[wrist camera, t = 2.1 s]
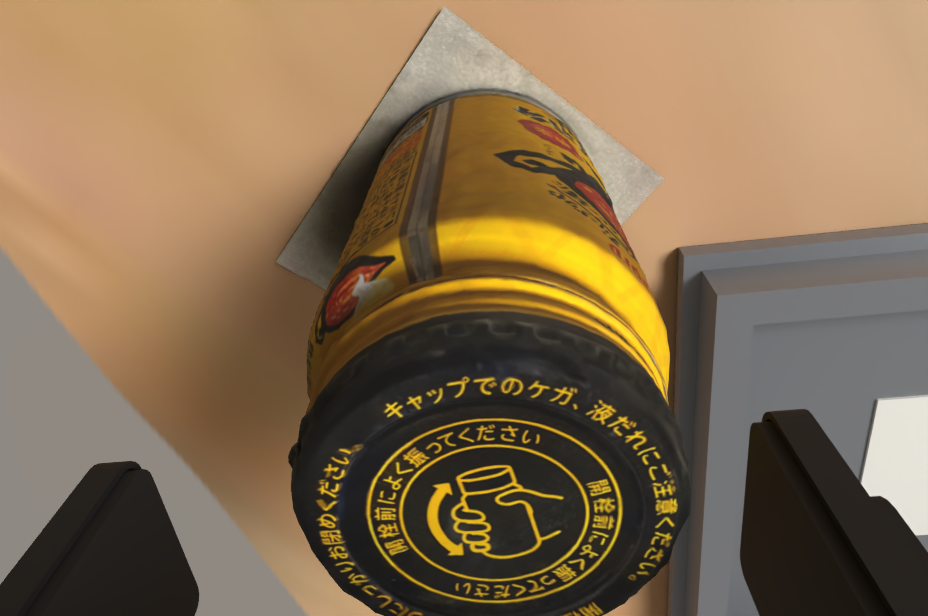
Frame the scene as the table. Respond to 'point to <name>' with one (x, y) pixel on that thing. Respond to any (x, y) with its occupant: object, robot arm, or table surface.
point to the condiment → (484, 354)
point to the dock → (796, 381)
